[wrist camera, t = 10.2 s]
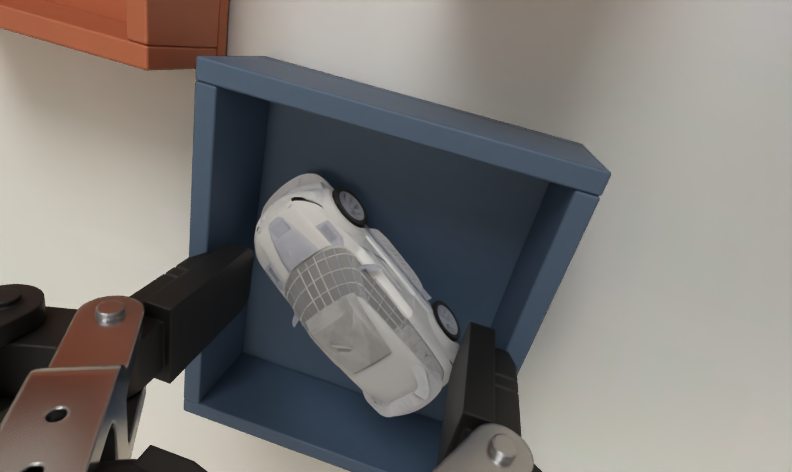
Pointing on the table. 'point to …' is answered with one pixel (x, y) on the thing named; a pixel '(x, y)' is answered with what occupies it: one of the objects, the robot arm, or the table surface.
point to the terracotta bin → (126, 28)
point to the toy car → (356, 295)
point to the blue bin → (395, 218)
